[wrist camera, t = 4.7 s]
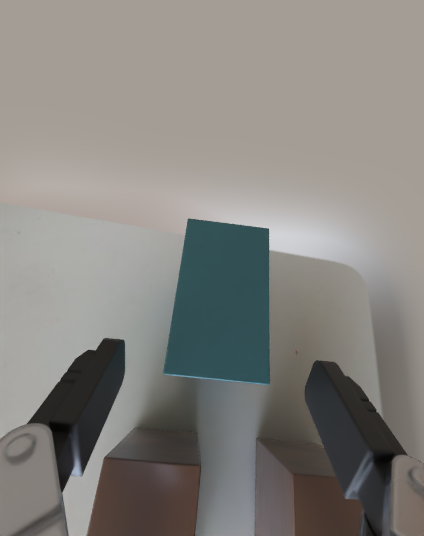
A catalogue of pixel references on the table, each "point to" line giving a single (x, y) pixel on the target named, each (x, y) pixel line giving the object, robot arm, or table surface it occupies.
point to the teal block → (222, 305)
